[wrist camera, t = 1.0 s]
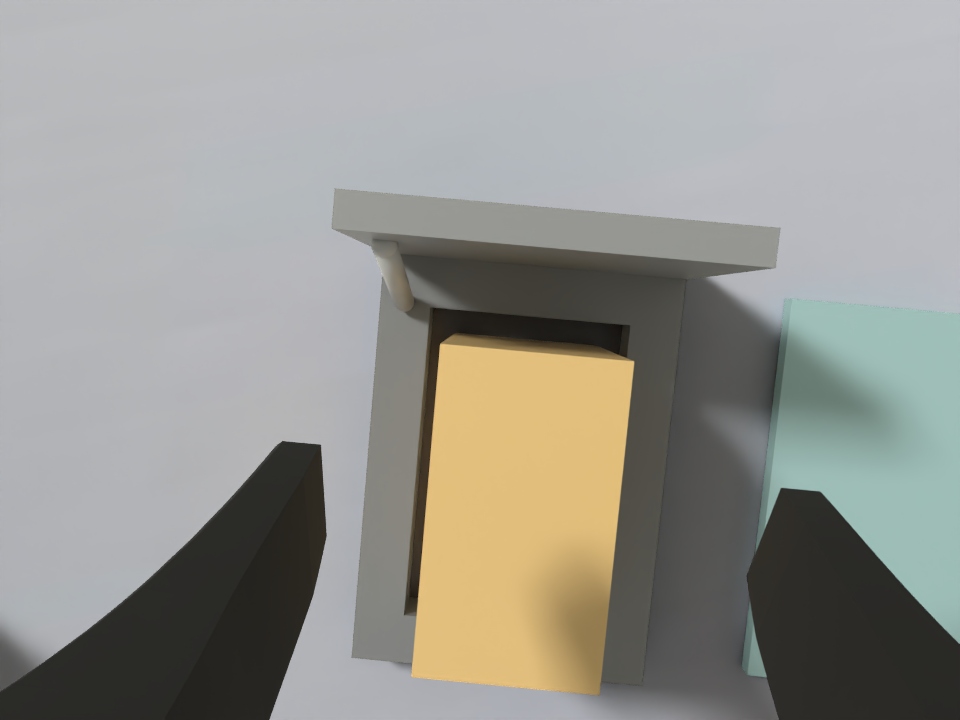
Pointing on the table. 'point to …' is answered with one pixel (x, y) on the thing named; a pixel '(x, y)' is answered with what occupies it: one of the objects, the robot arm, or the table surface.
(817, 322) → the teal pad
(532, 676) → the orange rectangular block
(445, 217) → the grey angular piece
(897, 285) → the table surface
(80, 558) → the table surface
